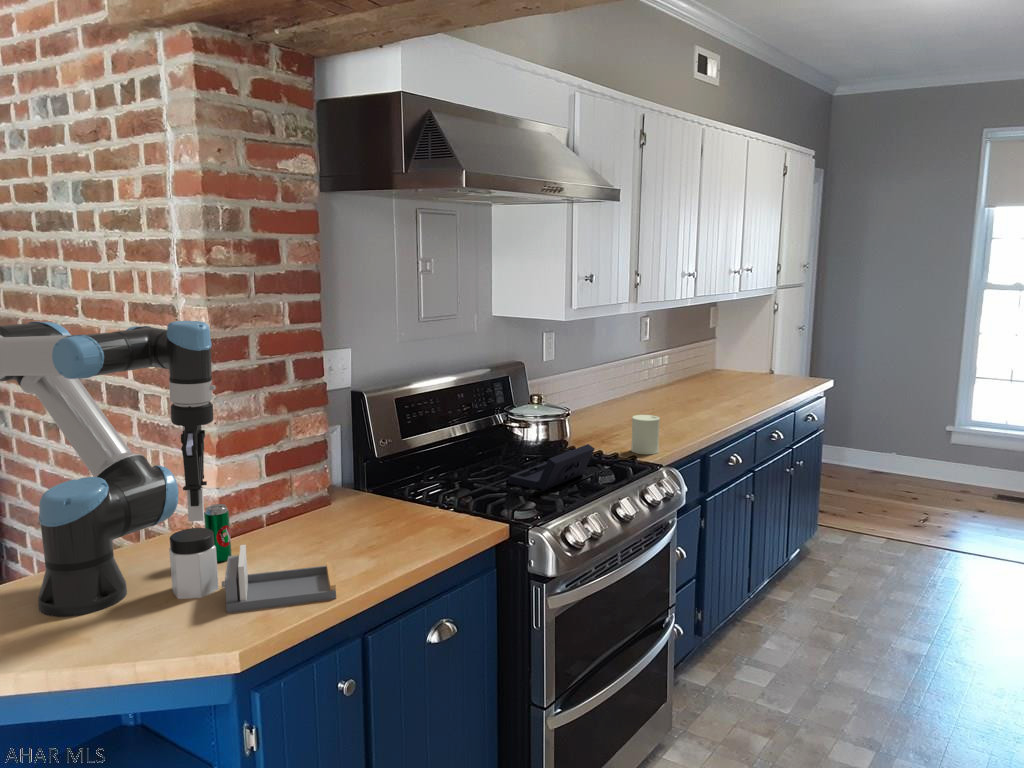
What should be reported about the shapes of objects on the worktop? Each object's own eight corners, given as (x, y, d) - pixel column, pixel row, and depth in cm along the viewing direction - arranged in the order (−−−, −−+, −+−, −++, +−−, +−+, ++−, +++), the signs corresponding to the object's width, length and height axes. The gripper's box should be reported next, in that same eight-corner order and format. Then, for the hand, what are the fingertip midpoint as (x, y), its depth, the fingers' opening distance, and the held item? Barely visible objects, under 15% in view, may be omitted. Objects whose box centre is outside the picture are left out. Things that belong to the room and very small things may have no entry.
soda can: (206, 557, 175) (203, 505, 173) (230, 553, 177) (227, 502, 175) (207, 565, 171) (204, 512, 169) (232, 561, 173) (229, 509, 170)
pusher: (220, 609, 148) (218, 569, 146) (224, 584, 158) (221, 546, 157) (246, 606, 149) (243, 566, 148) (248, 582, 160) (245, 544, 158)
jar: (224, 581, 162) (220, 526, 160) (213, 599, 154) (209, 541, 152) (179, 583, 161) (174, 528, 159) (166, 601, 153) (161, 542, 151)
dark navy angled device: (549, 468, 246) (549, 437, 244) (594, 477, 236) (594, 445, 234) (508, 484, 230) (508, 450, 228) (555, 494, 220) (555, 459, 218)
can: (661, 454, 261) (662, 419, 259) (633, 454, 261) (634, 419, 259) (656, 447, 270) (657, 413, 268) (629, 447, 270) (630, 413, 268)
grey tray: (226, 615, 147) (224, 581, 146) (230, 587, 160) (228, 555, 158) (336, 602, 153) (335, 568, 152) (331, 575, 165) (330, 544, 164)
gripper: (208, 409, 146) (212, 530, 150) (216, 395, 158) (220, 507, 163) (164, 410, 144) (170, 533, 148) (176, 395, 156) (180, 509, 161)
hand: (196, 519), depth 156 cm, fingers closed
